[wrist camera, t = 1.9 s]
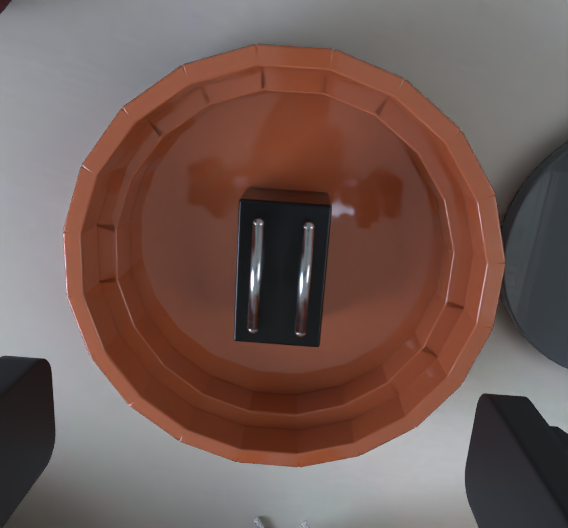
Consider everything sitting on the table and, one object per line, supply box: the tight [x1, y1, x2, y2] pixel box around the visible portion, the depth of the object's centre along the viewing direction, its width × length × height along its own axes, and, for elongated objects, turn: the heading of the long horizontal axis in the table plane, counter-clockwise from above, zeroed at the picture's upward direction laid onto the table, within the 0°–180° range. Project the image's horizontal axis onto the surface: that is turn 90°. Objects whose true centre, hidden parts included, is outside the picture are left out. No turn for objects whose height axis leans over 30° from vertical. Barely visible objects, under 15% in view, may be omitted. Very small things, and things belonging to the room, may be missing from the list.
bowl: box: [63, 44, 505, 467], centre depth 19 cm, size 14×14×4 cm
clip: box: [233, 187, 332, 347], centre depth 19 cm, size 5×3×3 cm, turn 176°
